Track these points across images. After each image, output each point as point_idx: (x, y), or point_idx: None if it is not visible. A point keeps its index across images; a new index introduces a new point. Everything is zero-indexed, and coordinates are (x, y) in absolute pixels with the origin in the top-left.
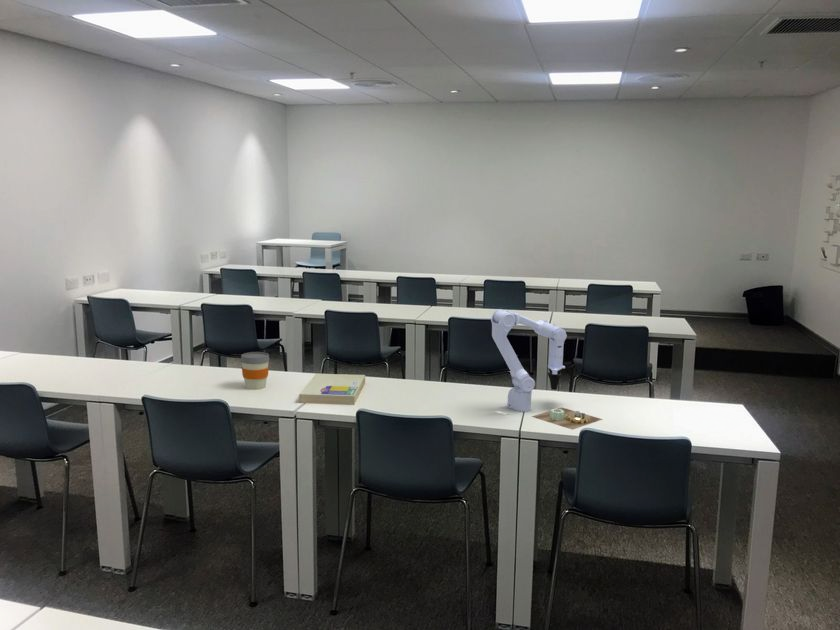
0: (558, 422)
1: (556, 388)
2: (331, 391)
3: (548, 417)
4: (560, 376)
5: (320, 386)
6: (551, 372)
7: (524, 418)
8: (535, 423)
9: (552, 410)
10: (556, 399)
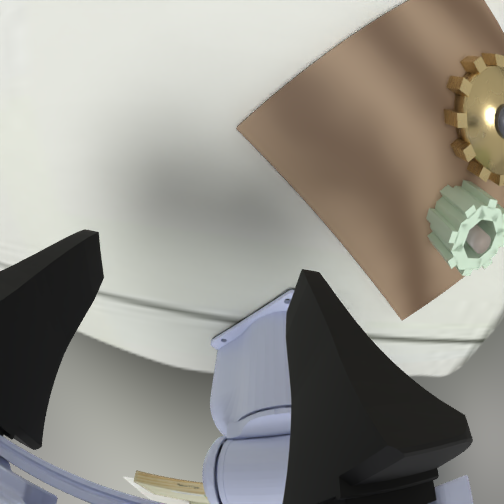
0: None
1: (324, 284)
2: None
3: (434, 254)
4: (463, 421)
5: None
6: (39, 396)
7: (385, 332)
8: (449, 300)
9: (469, 264)
10: (37, 146)
